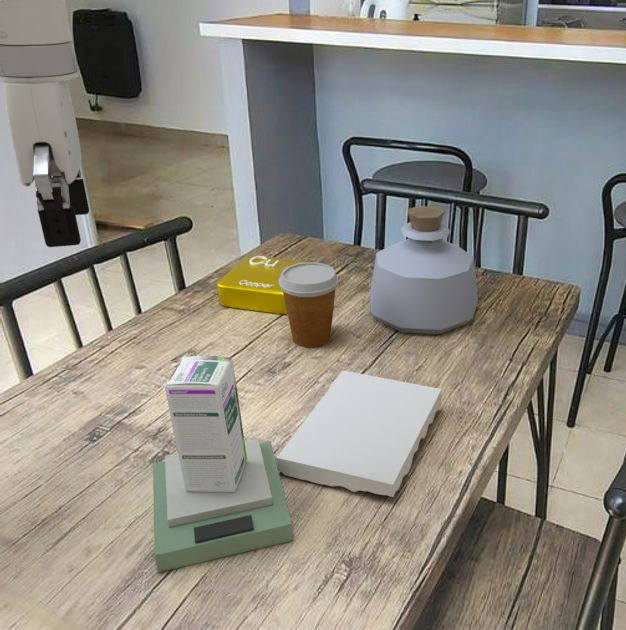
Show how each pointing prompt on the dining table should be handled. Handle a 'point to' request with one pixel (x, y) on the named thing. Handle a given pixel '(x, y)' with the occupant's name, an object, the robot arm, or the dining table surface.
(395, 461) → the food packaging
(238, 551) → the scale
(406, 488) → the dining table surface
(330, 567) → the dining table surface
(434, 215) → the bottle
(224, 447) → the syrup box
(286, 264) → the element tile
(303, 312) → the disposable coffee cup
